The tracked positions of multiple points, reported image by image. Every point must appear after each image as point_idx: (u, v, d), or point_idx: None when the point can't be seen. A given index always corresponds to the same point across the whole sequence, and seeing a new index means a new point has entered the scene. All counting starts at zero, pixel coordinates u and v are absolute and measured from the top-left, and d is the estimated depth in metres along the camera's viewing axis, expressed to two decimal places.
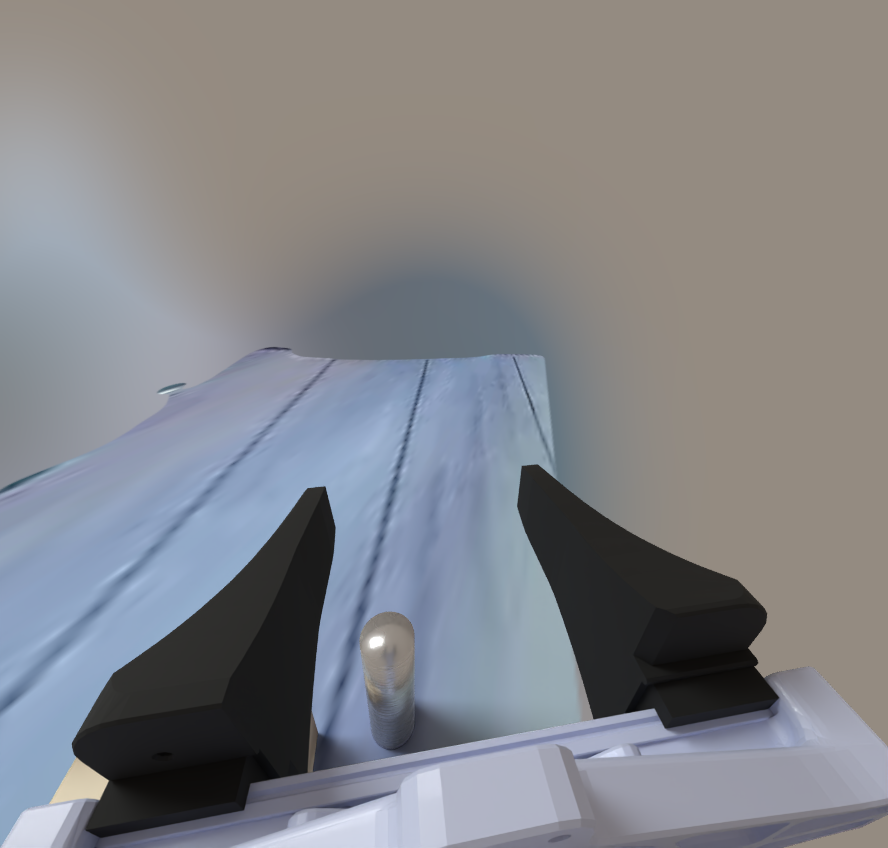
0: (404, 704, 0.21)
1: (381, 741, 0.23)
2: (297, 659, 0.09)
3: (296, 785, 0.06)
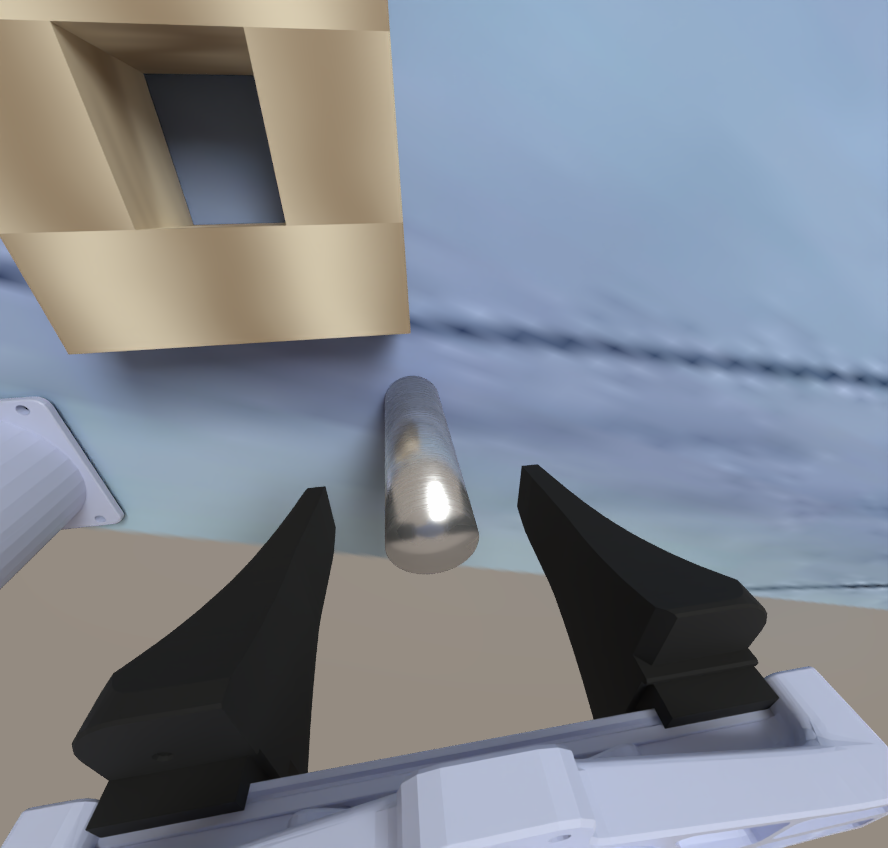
0: None
1: (387, 398, 0.19)
2: (297, 659, 0.09)
3: (296, 785, 0.06)
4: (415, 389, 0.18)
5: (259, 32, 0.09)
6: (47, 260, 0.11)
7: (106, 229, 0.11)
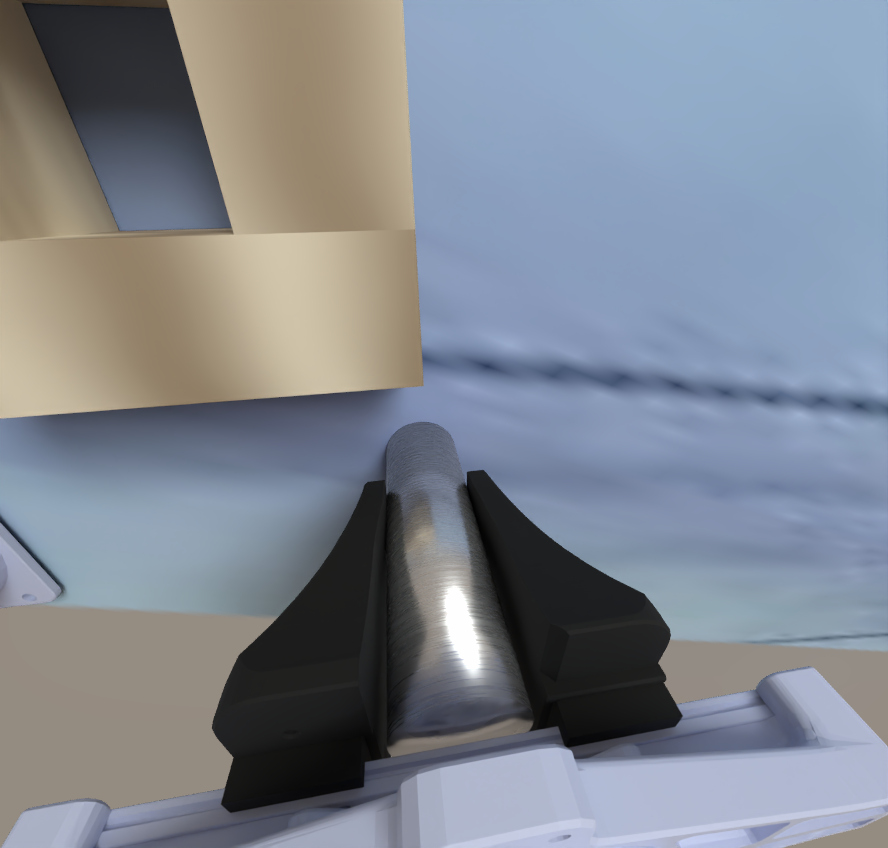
0: None
1: (389, 453, 0.14)
2: (381, 646, 0.09)
3: None
4: (426, 444, 0.14)
5: None
6: None
7: None
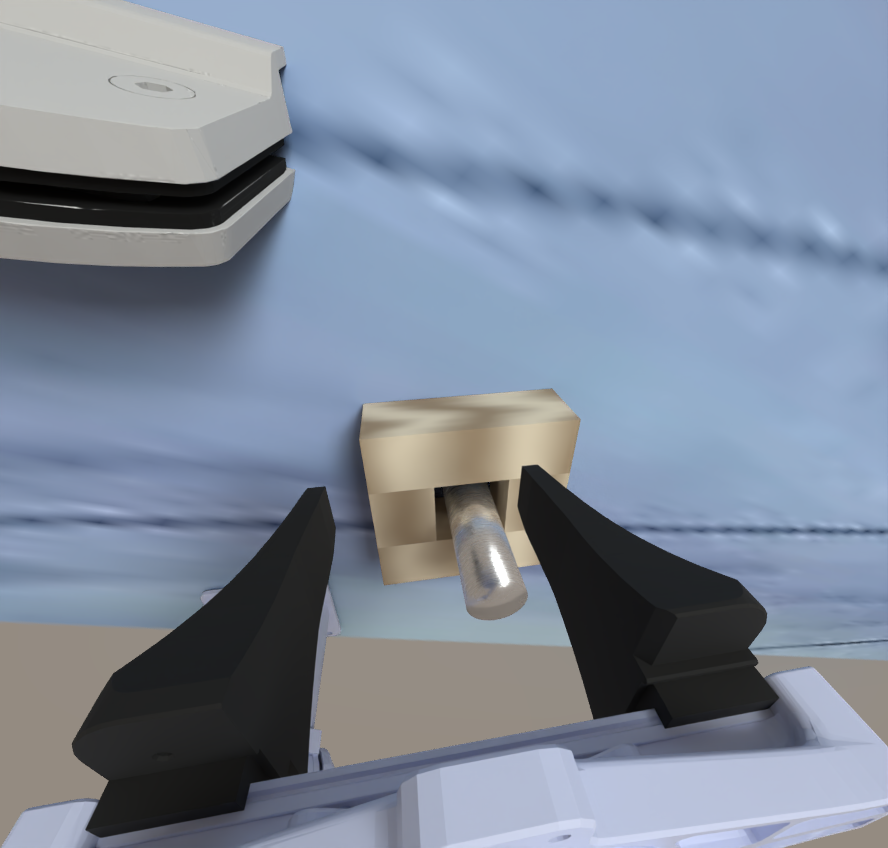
0: None
1: None
2: (297, 659, 0.09)
3: (296, 785, 0.06)
4: None
5: (515, 480, 0.21)
6: (393, 554, 0.23)
7: (424, 542, 0.23)
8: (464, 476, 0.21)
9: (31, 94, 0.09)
